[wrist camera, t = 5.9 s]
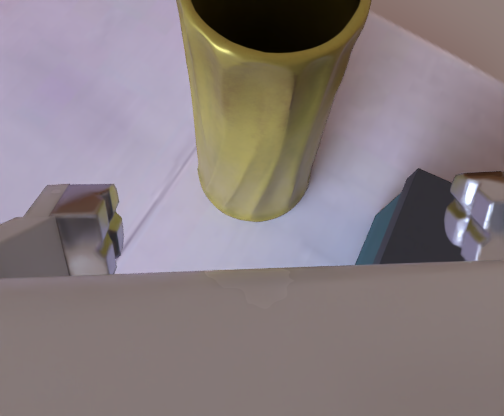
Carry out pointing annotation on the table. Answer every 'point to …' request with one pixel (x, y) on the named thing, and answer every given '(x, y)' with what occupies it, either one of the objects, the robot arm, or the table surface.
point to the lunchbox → (412, 225)
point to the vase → (264, 94)
